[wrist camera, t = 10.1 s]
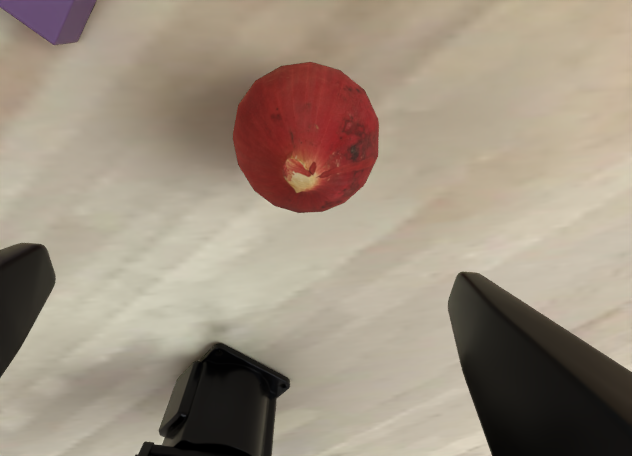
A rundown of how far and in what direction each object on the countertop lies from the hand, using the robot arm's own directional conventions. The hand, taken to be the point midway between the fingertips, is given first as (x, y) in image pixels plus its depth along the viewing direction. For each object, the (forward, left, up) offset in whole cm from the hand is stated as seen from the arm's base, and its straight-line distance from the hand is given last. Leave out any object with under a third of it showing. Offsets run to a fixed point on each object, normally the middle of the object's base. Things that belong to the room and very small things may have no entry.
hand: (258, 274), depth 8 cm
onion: (0, -1, -12) cm, 12 cm away
